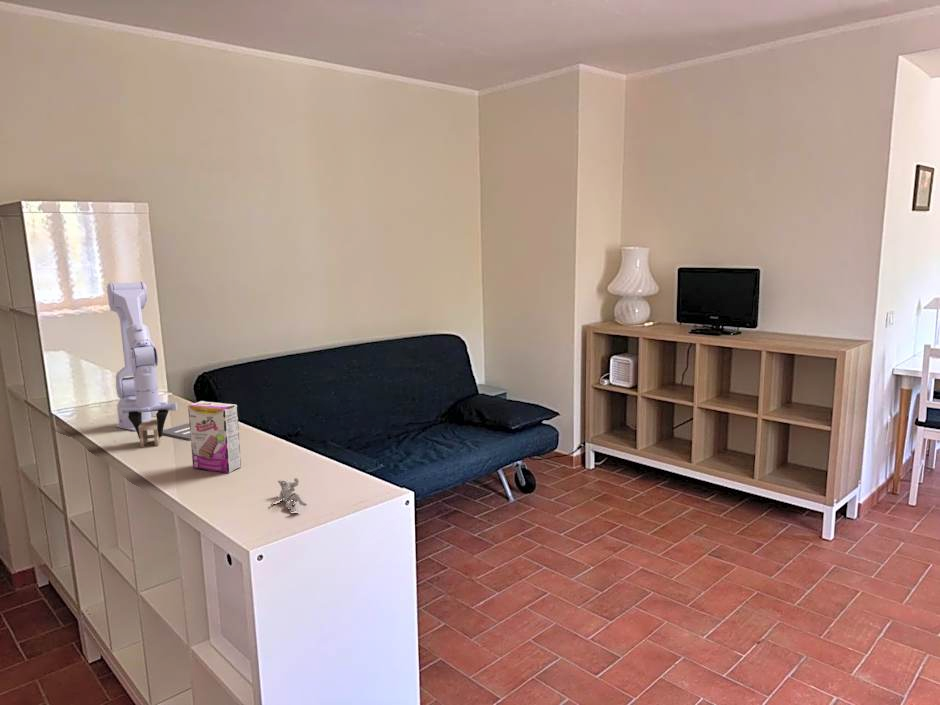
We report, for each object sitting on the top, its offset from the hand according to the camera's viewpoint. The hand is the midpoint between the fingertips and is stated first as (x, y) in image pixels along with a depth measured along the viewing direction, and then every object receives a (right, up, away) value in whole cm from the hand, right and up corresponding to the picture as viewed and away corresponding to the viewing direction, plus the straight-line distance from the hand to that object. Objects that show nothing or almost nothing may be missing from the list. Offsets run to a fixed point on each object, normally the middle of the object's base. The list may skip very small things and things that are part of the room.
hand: (150, 436), depth 181 cm
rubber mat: (+6, 0, +11) cm, 12 cm away
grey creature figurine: (+51, -9, -42) cm, 67 cm away
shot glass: (-13, +3, +31) cm, 34 cm away
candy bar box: (+26, -5, -20) cm, 33 cm away
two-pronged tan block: (0, -2, 0) cm, 2 cm away
